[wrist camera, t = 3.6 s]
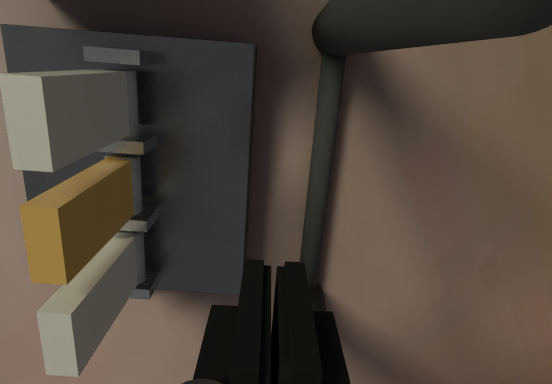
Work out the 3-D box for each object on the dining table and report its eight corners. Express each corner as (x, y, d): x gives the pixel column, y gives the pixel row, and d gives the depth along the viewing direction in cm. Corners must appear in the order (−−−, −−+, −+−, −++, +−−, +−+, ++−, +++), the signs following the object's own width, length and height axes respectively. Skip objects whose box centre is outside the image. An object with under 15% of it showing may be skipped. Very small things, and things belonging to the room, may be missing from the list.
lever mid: (144, 154, 19) (63, 209, 12) (146, 205, 20) (72, 285, 13) (112, 151, 19) (12, 205, 12) (116, 203, 20) (25, 282, 13)
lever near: (141, 71, 18) (48, 77, 11) (143, 130, 19) (59, 172, 12) (107, 68, 18) (-10, 73, 11) (111, 127, 19) (6, 168, 11)
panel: (257, 45, 20) (251, 41, 16) (244, 276, 24) (238, 316, 21) (27, 27, 20) (-34, 19, 16) (58, 263, 24) (17, 301, 20)
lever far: (147, 226, 20) (76, 314, 13) (149, 271, 21) (83, 377, 14) (118, 224, 20) (30, 311, 13) (120, 269, 21) (41, 374, 14)
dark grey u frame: (361, 7, 19) (669, -198, 4) (320, 311, 25) (381, 687, 10) (314, 3, 19) (445, -218, 4) (284, 308, 25) (292, 681, 10)
